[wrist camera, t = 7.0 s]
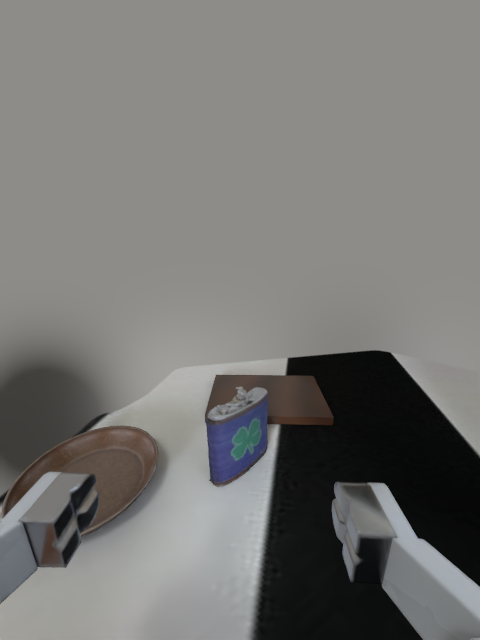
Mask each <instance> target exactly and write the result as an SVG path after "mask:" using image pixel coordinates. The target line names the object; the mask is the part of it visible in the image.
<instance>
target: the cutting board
mask: <svg viewBox="0 0 480 640" xmlns="http://www.w3.org/2000/svg"><path fill="white" fill-rule="evenodd" d="M236 387H243V389H244V390H246V393H247V392H249V391H250V390H251V389H253V388H255V387H258V388H264V389H266V390H267V392H268V408H267V424H300V425H333V418H334V417H333V415H332V413H331V411H330V409H329V407H328V405H327V403H326V401H325V399H324V397H323V395H322V393H321V391H320V389H319V387H318V385H317V383H316V381H315V379H314V376H272V375H216V377H215V381H214V384H213V388H212V391H211V395H210V398H209V402H208V406H207V409H206V413H205V422H206V417H207V414H208V413H209V411H210V410H211V409H213V408H214V407H217V405H220V406H221V405H225V404H227V403H229V402H231V401H232V400H233V398H234V397H235V396H236V395H237V394H238V392H237V391H238V389H236Z"/></svg>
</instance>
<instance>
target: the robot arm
mask: <svg viewBox="0 0 480 640" xmlns="http://www.w3.org/2000/svg"><path fill="white" fill-rule="evenodd" d="M95 484H96V478H95V475H94V474H84V473H69V472H48V473H46V474H44V475H43V476H42V477H41V478H40V479H39V480H38V481H37V482H36V483H35V484H34V486H33V487H32V488H31V489H30V490H29V491H28V492H27V493H26V494H25V495H24V496H23V497H22V498H21V500H20V501H19V502H18V503H17V504H16V505H15V506H14V507H13V508H12V509H11V510H10V511H9V512H8V513H7V515H6V516H5V517H4V518H3V519H2V520H1V521H0V603H2V602H3V601H4V600H5V599H6V598H7V597H8V596H9V595H10V594H11V593H12V592H13V591H15V590H16V589H17V588H18V587H19V586H20V585H21V584H22V583H23V582H24V581H25V580H26V579H28V578H29V577H30V576H31V575H32V574H33V573H34V572H35V571H36V570H37V569H38V568H37V567H64V568H66V567H67V565H68V563H69V562H70V560H71V558H72V557H73V555H74V553H75V551H76V550H77V548H78V546H79V545H80V543H81V533H83V532H84V531H85V530H86V529H87V528H89V527H90V526H91V524H92V522H93V520H94V519H95V517H96V514H97V511H98V508H99V502H100V497H99V492H98V491H97V490H96V489H95V488H94V485H95ZM334 492H335V495H336V498H335V499H334V500H333V501H332V517H333V523H334V528H335V531H336V535H337V537H338V538H339V540H340V541H341V542H342V543H343V544H344V545H343V552H342V555H343V558H344V561H345V565H346V568H347V571H348V574H349V578H350V581H351V582H358V583H370V584H382V587H383V589H384V590H385V591H386V593H387V594H388V595H389V596H390V598H391V599H392V600H393V602H394V603H395V604H396V605H397V607H398V608H399V609H400V611H401V612H402V613H403V614H404V616H405V617H406V618H407V620H408V621H409V622H410V623H411V625H412V626H413V627H414V629H415V630H416V631H417V632H418V634H419V635H420V636H421V637H422V639H423V640H480V587H479V586H478V585H477V584H476V583H475V582H473V581H472V580H471V579H470V578H469V577H467V576H466V575H465V574H464V573H463V572H462V571H460V570H459V569H458V568H457V567H456V566H454V565H453V564H452V563H451V562H450V561H449V560H447V559H446V558H445V557H444V556H443V555H441V554H440V553H439V552H438V551H437V550H436V549H434V548H433V547H432V546H431V545H430V544H428V543H427V542H426V541H425V540H424V539H418V538H417V536H416V535H415V533H414V531H413V529H412V528H411V526H410V524H409V523H408V521H407V519H406V518H405V516H404V514H403V512H402V511H401V509H400V507H399V506H398V504H397V502H396V501H395V499H394V497H393V495H392V494H391V492H390V490H389V489H388V487H387V486H386V485H385V484H384V483H366V482H336V483H335V486H334Z"/></svg>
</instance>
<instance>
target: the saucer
mask: <svg viewBox="0 0 480 640" xmlns="http://www.w3.org/2000/svg"><path fill="white" fill-rule="evenodd" d="M157 462H158V447H157V444H156V442H155V440H154V439H153V438H152V436H151V435H149V434H148V433H147V432H146V431H144V430H141V429H139V428H135V427H131V426H109V427H103V428H99V429H95V430H91V431H88V432H85V433H82V434H80V435H77V436H75V437H72V438H70V439H68V440H66V441H64V442H62V443H60V444H59V445H57V446H55V447H54V448H52V449H50V450H49V451H47V452H46V453H44V454H43V455H42V456H40V457H39V458H38V459H37V460H35V461H34V462H33V463H32V464H31V465H30V466H29V467H28V468H27V469H26V470H24V472H23V473H22V474H21V475H20V476H19V477H18V478H17V479H16V481H15V482H14V483H13V485H12V486H11V488H10V489H9V491H8V493H7V495H6V497H5V500H4V503H3V507H2V513H1V517H2V519H3V518H4V517H5V516H6V515H7V513H8V512H9V511H10V510H11V509H12V508H13V507H14V506H15V505H16V504H17V503H18V502H19V501H20V500H21V498H22V497H23V496H24V495H25V494H26V493H27V492H28V491H29V490H30V489H31V488H32V487H33V486H34V484H35V483H36V482H37V481H38V480H39V479H40V478H41V477H42V476H43V475H44V474H46V473H48V472H69V473H84V474H94V475H95V478H96V484H95V485H94V488H95V489H96V490H97V491H98V492H99V497H100V502H99V508H98V511H97V514H96V517H95V519H94V520H93V522H92V524H91V526H90V527H89V528H87V529H86V530H85V531H84V532H83V533H81V537H82V536H84V535H86V534H89V533H91V532H93V531H95V530H97V529H99V528H101V527H103V526H104V525H106V524H107V523H109V522H110V521H112V520H113V519H115V518H116V517H117V516H119V515H120V514H121V513H122V512H123V511H125V510H126V509H127V508H128V507H129V506H130V505H131V504H132V503H133V502H134V501H135V500H136V499H137V498H138V496H139V495H140V494H141V493H142V491H143V490H144V489H145V487H146V486H147V484H148V483H149V481H150V480H151V478H152V476H153V474H154V472H155V469H156V466H157Z"/></svg>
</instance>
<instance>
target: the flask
mask: <svg viewBox="0 0 480 640" xmlns="http://www.w3.org/2000/svg"><path fill="white" fill-rule="evenodd" d="M236 389H238V391H237V392H238V394H237V395H236V396H235V397H234V398H233V400H232V401H231V402H229V403H227V404H225V405H221V406H220V405H217V407H214V408H213V409H211V410H210V411H209V413H208V414H207V417H206V425H207V438H208V448H209V466H210V478H211V479H210V480H209V481H211V482H212V483H213V485H215V486H217V487H219V486H224V485H227V484H229V483H231V482H232V481H234V480H236V479H238V478H239V477H240V476H242V475H243V474H245V472H246V471H248V470H249V468H250V467H252V466H253V465H254V464H255V463H256V462H257V461H258V460H259V459H260V458H261V457H262V456H263V455H264V453H265V452H266V449H267V408H268V392H267V390H266V389H264V388H258V387H255V388H253V389H251V390H250V391H249V392H247V393H246V390H244V389H243V387H236Z"/></svg>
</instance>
